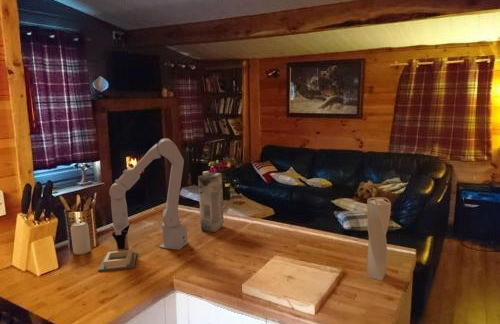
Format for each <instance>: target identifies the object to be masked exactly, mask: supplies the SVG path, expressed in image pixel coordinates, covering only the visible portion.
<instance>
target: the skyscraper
mask: <svg viewBox="0 0 500 324" xmlns="http://www.w3.org/2000/svg"><path fill="white" fill-rule="evenodd" d="M385 200H386V201H385ZM366 201H367V203H366V204H367V205H366V206H367V207H366V210H367V211H366V212H367V213H366V220H367V223H366V224H367V232H368V241H367V242H368V244H367V251H366V269H365V270H366V271H365V275H366V276H365V277H366V278H368V279H373V280H377V281H381V282H383V281H384V278H385V276H386V275H387V268H388V245H387V244H388V243H387V242H388V241H387V232H388V230H389V229H388V228H389V226H390V225H389V223H390V218H391V211H392V210H391V209H392V203H391V201H390V199H389V198H387V197H381V196H379V197H369V198H367V200H366Z"/></svg>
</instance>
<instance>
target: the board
mask: <svg viewBox="0 0 500 324" xmlns="http://www.w3.org/2000/svg"><path fill="white" fill-rule="evenodd" d="M137 255H138V252H133V250H132V249H129V250H123V251H117V250H114V251H107V253H106V255H104V256H103V259H102V261H101V263H100V265H99V267H98V272H107V271H108V272H109V271H110V272H111V271H118V270H127V269H134V268H135V264H136V260H137V257H138V256H137Z"/></svg>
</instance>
